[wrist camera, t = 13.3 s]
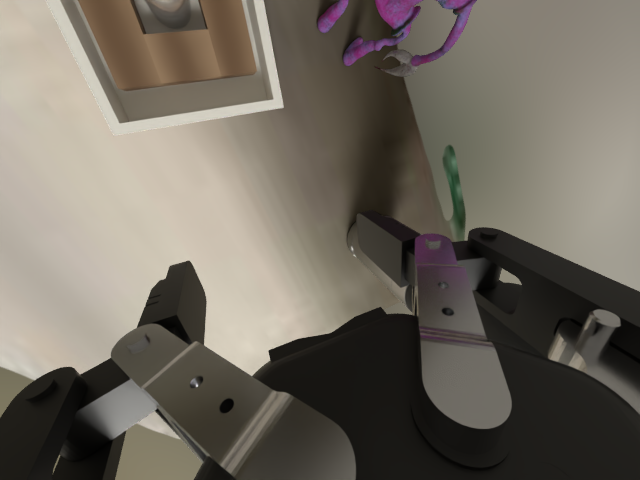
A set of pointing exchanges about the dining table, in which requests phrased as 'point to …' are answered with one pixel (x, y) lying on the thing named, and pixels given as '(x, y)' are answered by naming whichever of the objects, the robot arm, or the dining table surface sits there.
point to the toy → (398, 31)
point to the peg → (171, 12)
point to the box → (176, 100)
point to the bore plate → (171, 45)
